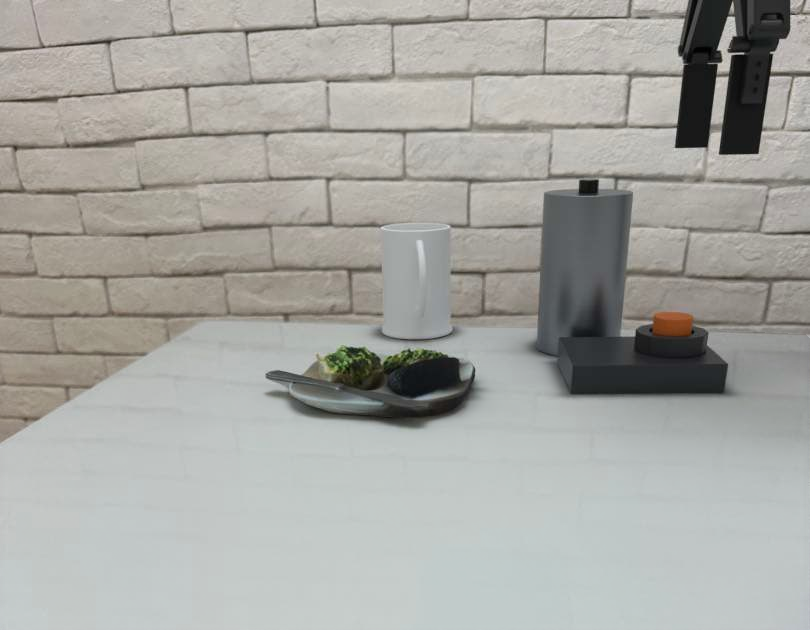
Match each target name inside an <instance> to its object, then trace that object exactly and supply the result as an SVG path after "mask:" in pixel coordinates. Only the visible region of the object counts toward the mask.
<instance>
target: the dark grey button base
mask: <svg viewBox="0 0 810 630" xmlns="http://www.w3.org/2000/svg"><path fill="white" fill-rule="evenodd" d="M652 329H653V323H650V324H644V325H640V326H639V327H637V328H636V329H635V333H634V336H620V337H559V340H558V356H556V359H557V360H556V364H557V366H558V368H559V370H560V372H561V375H562V377H563V380H564V381H565V384H566V386H567V388H568V391H569V393H570V394H571V395H581V394H583V395H584V394H587V395H594V394H595V395H596V394H598V395H599V394H600V395H601V394H602V395H603V394H605V395H606V394H608V395H609V394H714V393H715V394H718V393H719V394H721V393H722V394H724V393H725V390H726V389H725V388H726V383H727V382H726V381H727V375H728V371H729V370H728V369H729V363H728V362H727V361H726V360H724V358H722V357H721V356H720V355H719V354H718V353H716V351H714V349H712V348H711V347H710V346H709V345H708V341H709V340H708V339H709V334H710V333H709V331H707V329H705V328H703V327H700V326H696V325H692V332H691V335H685V336H668V335H659V334H655V333H652Z"/></svg>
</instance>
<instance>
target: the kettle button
mask: <svg viewBox="0 0 810 630" xmlns="http://www.w3.org/2000/svg"><path fill="white" fill-rule="evenodd" d="M652 324H653V329H652V333H655V334H659V335H668V336H685V335H691V332H692V326H693V324H694V316H693V315H692V314H690V313H686V312H681V311H680V312H679V311H661V312H657V313H655V314H654V315H653V321H652Z"/></svg>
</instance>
